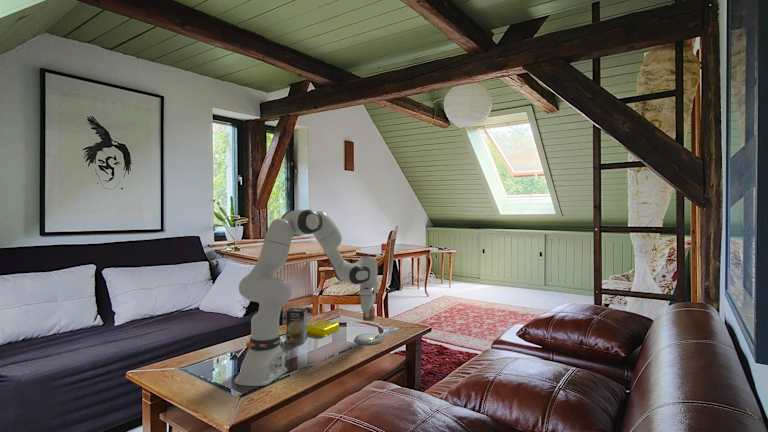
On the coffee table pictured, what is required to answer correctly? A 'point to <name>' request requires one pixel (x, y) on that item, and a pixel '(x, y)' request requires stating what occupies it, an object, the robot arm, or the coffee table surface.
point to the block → (372, 315)
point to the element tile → (322, 328)
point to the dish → (367, 339)
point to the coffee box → (296, 325)
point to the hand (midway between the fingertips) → (368, 315)
